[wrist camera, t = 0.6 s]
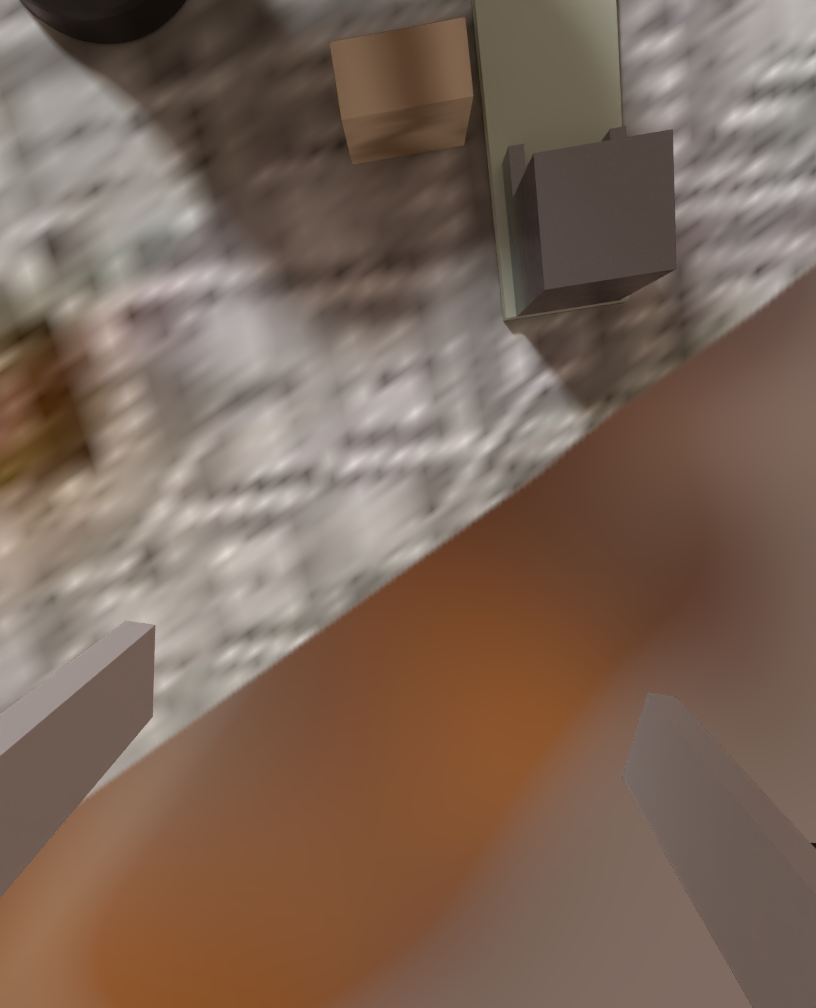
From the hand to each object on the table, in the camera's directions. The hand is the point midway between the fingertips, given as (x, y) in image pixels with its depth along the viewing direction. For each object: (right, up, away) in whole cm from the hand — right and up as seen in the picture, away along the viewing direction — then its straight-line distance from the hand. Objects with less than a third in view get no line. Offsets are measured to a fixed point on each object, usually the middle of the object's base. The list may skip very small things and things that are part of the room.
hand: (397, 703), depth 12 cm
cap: (+11, +24, +19) cm, 33 cm away
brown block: (0, +32, +19) cm, 37 cm away
